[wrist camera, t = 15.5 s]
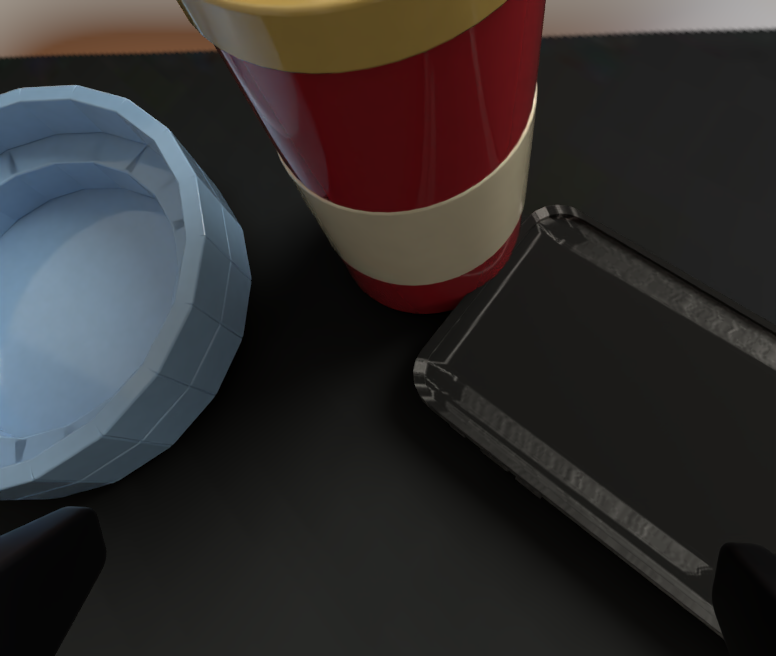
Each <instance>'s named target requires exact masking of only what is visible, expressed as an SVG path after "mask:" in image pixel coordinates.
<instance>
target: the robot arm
mask: <svg viewBox="0 0 776 656" xmlns="http://www.w3.org/2000/svg"><path fill="white" fill-rule="evenodd" d="M105 560H106V547H105V543H104V539H103V536H102V532H101V528H100V524H99V521H98V517H97V514H96V513H95V511H94V510H93V509H91V508H88V507H73V506H69V507H63V508H61V509H59V510H56V511H54V512H52V513H50V514H48V515H45V516H43V517H41V518H39V519H37V520H34V521H32V522H30V523H28V524H26V525H23V526H21V527H19V528H17V529H15V530H12V531H10V532H8V533H6V534H4V535H1V536H0V656H55V654H56V652H57V651H58V649H59V647H60V645H61V643H62V642H63V640H64V638H65V636H66V634H67V633H68V631H69V629H70V627H71V625H72V623H73V622H74V620H75V618H76V616H77V614H78V612H79V611H80V609H81V607H82V605H83V603H84V601H85V600H86V598H87V596H88V594H89V592H90V591H91V589H92V587H93V585H94V583H95V581H96V580H97V578H98V576H99V574H100V572H101V570H102V568H103V566H104V563H105ZM712 604H713V608H714V612H715V615H716V618H717V621H718V624H719V627H720V629H721V632H722V635H723V638H724V641H725V644H726V647H727V649H728V652H729V655H730V656H776V555H775V554H774V553H772V552H771V551H769V550H768V549H766V548H764V547H762V546H761V545H758V544H751V543H732V542H728V543H725V544H723V545H722V547H721V548H720V551H719V555H718V561H717V566H716V572H715V577H714V583H713V588H712Z"/></svg>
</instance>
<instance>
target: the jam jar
mask: <svg viewBox="0 0 776 656" xmlns="http://www.w3.org/2000/svg"><path fill="white" fill-rule="evenodd" d="M177 2H178V3H179V5H180V7H181V8H182V10H183V12H184V13H185V15H186V17H187V18H188V20H189V21H190V23H191V24H192V25H193V26H194V27H195V28H196V29H197V30H198V31H199V32H200V33H201V35H203V36H204V37H205V38H206V39H208V40H209V41H210V42H212V43H213V44H214V46H215V47H216V49H217V51H218V52H219V54H220V56H221V58H222V59H223V61H224V63H225V64H226V66H227V68H228V69H229V71H230V73H231V74H232V76H233V78H234V79H235V81H236V83H237V84H238V86H239V88H240V89H241V91H242V93H243V95H244V96H245V98H246V100H247V101H248V103H249V105H250V106H251V108H252V110H253V111H254V113H255V115H256V116H257V118H258V120H259V121H260V123H261V125H262V126H263V128H264V130H265V131H266V133H267V135H268V137H269V138H270V140H271V142H272V143H273V145H274V147H275V148H276V151H277V153H278V156H279V158H280V160H281V162H282V164H283V166H284V167H285V169H286V171H287V172H288V174H289V176H290V177H291V179H292V181H293V182H294V184H295V186H296V187H297V189H298V191H299V192H300V194H301V196H302V197H303V199H304V201H305V202H306V204H307V206H308V207H309V209H310V211H311V212H312V214H313V216H314V217H315V219H316V221H317V222H318V224H319V226H320V227H321V229H322V231H323V232H324V234H325V236H326V237H327V239H328V240H329V242H330V244H331V245H332V247H333V249H334V250H335V251H336V252H337V253H338V254H339V256H340V258H341V259H342V261H343V263H344V264H345V266H346V268H347V269H348V271H349V273H350V274H351V276H352V277H353V279H354V281H355V282H356V283H357V284H358V286H359V287H360V288H361V289H362V290H363V291H364V292H365V293H366V294H368V295H369V296H370V297H371V298H373V299H374V300H376V301H378V302H379V303H381V304H383V305H385V306H387V307H390V308H393V309H396V310H399V311H403V312H408V313H417V314H431V313H440V312H445V311H450V310H453V309H455V308H456V306H457V305H458V304H459V303H460V301H461V300H462V299H463V298H464V296H465V295H466V294H467V293H470V292H472V291H473V290H475V289H477V288H478V287H480V286H482V285H483V284H484V283H486V282H487V281H488V280H489V279H490V280H492V279H493V278H494V277H495V276H496V275H497V273H498V272H499V271H500V270H501V269H502V268H503V266H504V265H505V264H506V262H507V261H508V259H509V258H510V256H511V254H512V253H511V252H512V250H513V249H514V246H515V244H516V241H517V238H518V235H519V230H520V226H521V217H522V210H523V206H524V202H525V197H526V189H527V180H528V172H529V163H530V155H531V146H532V138H533V129H534V121H535V112H536V104H537V74H538V65H539V56H540V48H541V39H542V29H543V21H544V11H545V3H546V0H177Z"/></svg>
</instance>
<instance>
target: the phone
mask: <svg viewBox="0 0 776 656" xmlns="http://www.w3.org/2000/svg"><path fill="white" fill-rule="evenodd" d="M511 253H512V254H511V256H510V258H509V259H508V261H507V262H506V264H505V265H504V266H503V268H502V269H501V270H500V271H499V272H498V273H497V275H496V276H495V277H494V278H493V279H492V280H490V279H489V280H488V281H487V282H486V283H484V284H483V285H482V286H480V287H478V288H477V289H475V290H473V291H472V292H470V293H467V294H466V295H465V296H464V298H463V299H462V300H461V301H460V303H459V304H458V305H457V306H456V308H455V309H454V310H453V311H452V313H451V314H450V315H449V316H448V318H447V319H446V320H445V321H444V323H443V324H442V325H441V326H440V328H439V329H438V330H437V331H436V333H435V334H434V335H433V336H432V338H431V339H430V340H429V341H428V343H427V344H426V345H425V346H424V348H423V349H422V350H421V352H420V353H419V355H418V357H417V359H416V360H415V365H414V370H413V376H414V384H415V386H416V388H417V390H418V393H419V395H420V397H421V399H422V401H423V402H424V403H425V404H426V405H427V406H428V407H429V408H430V409H431V410H432V411H433V412H435V413H436V414H437V415H439V416H440V417H441V418H442V419H444V420H445V421H446V422H447V423H449V424H450V427H451V428H453V429H454V430H455V431H457V432H458V433H459V434H460V435H462V436H463V437H464V438H465V437H467V438H468V439H469V440H470V441H472V442H473V443H474V444H475V445H477V446H478V447H479V448H481V449H480V451H481V452H482V453H484V454H485V455H486V456H487V457H489V458H490V459H491V460H493V461H494V462H495V463H496V464H498V465H499V466H500V467H501V468H503V469H504V470H505V471H508V470H509V471H510V472H511V473H512V474H514V475H515V476H516V478H515V479H516V480H517V481H518V482H519V483H521V484H522V485H523V486H525V487H526V488H527V489H528V490H530V491H531V492H532V493H533V494H535V495H536V496H537V497H539V498H540V499H541V497H543V498H544V499H546V500H547V501H548V502H549V503H551V504H552V505H553V506H554V507H556V508H557V509H558V510H560V511H561V512H562V513H563V514H565V515H566V516H567V517H569V518H570V519H571V520H572V521H574V522H575V523H576V524H577V525H579V526H580V527H581V528H583V529H584V530H585V531H586V532H588V533H589V534H590V535H591V536H593V537H594V538H595V539H597V540H598V541H599V542H600V543H602V544H603V545H604V546H605V547H607V548H608V549H609V550H611V551H612V552H613V553H614V554H616V555H617V556H618V557H619V558H621V559H622V560H623V561H625V562H626V563H627V564H628V565H630V566H631V567H632V568H634V569H635V570H636V571H637V572H639V573H640V574H641V575H642V576H644V577H645V578H646V579H648V580H649V581H650V582H651V583H653V584H654V585H655V586H656V587H658V588H659V589H660V590H662V591H663V592H664V593H665V594H667V595H668V596H669V597H670V598H672V599H673V600H674V601H676V602H677V603H678V604H679V605H681V606H682V607H683V608H684V609H686V610H687V611H688V612H690V613H691V614H692V615H693V616H695V617H696V618H697V619H698V620H700V621H701V622H702V623H704V624H705V625H706V626H707V627H709V628H710V629H711V630H713V631H714V632H715V633H716V634H718V635H719V636H720V637H721V638H723V635H722V632H721V629H720V627H719V624H718V621H717V618H716V615H715V612H714V608H713V604H712V588H713V583H714V577H715V572H716V566H717V561H718V555H719V551H720V548H721V547H722V545H723V544H725V543H728V542H732V543H751V544H758V545H761V546H762V547H764V548H766V549H768V550H769V551H771V552H772V553H774V554H775V555H776V325H774V324H773V323H771V322H769V321H767V320H766V319H764V318H762V317H761V316H759V315H757V314H755V313H754V312H752V311H750V310H749V309H747V308H745V307H743V306H742V305H740V304H738V303H737V302H735V301H733V300H732V299H730V298H728V297H726V296H725V295H723V294H721V293H720V292H718V291H716V290H714V289H713V288H711V287H709V286H708V285H706V284H704V283H703V282H701V281H699V280H697V279H696V278H694V277H692V276H691V275H689V274H687V273H685V272H684V271H682V270H680V269H679V268H677V267H675V266H673V265H672V264H670V263H668V262H667V261H665V260H663V259H662V258H660V257H658V256H656V255H655V254H653V253H651V252H650V251H648V250H646V249H644V248H643V247H641V246H639V245H638V244H636V243H634V242H632V241H631V240H629V239H627V238H626V237H624V236H622V235H621V234H619V233H617V232H615V231H614V230H612V229H610V228H609V227H607V226H605V225H603V224H602V223H600V222H598V221H597V220H595V219H593V218H592V217H590V216H588V215H586V214H585V213H583V212H581V211H580V210H577V209H575V208H572V207H570V206H564V205H552V206H545V207H543V208H541V209H539V210H537V211H535V212H534V213H533V214H531V215H530V216H529V217H528V218H527V219H526V220H525V222H524V223H523V224H522V225H521V227H520V230H519V235H518V238H517V241H516V244H515V246H514V249H513V250H512V252H511ZM723 639H724V638H723Z"/></svg>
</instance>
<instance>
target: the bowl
mask: <svg viewBox="0 0 776 656" xmlns="http://www.w3.org/2000/svg"><path fill="white" fill-rule="evenodd" d="M250 287H251V274H250V268H249V263H248V257H247V252H246V246H245V241H244V235H243V230H242V229H241V226H240V224H239V222H238V221H237V219H236V217H235V216H234V214H233V212H232V211H231V209H230V207H229V206H228V204H227V202H226V201H225V199H224V198H223V196H222V194H221V193H220V191H219V189H218V188H217V187H216V186H215V184H214V183H213V182H212V181H211V180H210V178H209V177H208V176H207V175H206V174H205V172H204V171H203V170H202V169H201V167H200V166H199V165H198V164H197V163H196V161H195V160H194V159H193V158H192V156H191V155H190V154H189V153H188V152H187V150H186V149H185V148H184V147H183V146H182V144H181V143H180V142H179V141H178V140H177V138H176V137H175V136H174V135H173V133H172V132H171V131H170V130H169V129H168V128H167V127H166V126H164V125H163V124H162V123H160V122H159V121H157V120H156V119H155V118H153V117H152V116H151V115H149V114H148V113H147V112H145V111H144V110H143V109H141V108H140V107H138V106H137V105H136V104H134V103H133V102H132V101H130V100H129V99H126V98H123V97H120V96H116V95H112V94H108V93H105V92H101V91H97V90H94V89H90V88H86V87H82V86H79V85H77V86H76V85H65V86H47V87H28V88H22V89H21V88H19V89H16V90H13V91H10V92H7V93H4V94H0V500H34V499H57V498H61V497H65V496H69V495H72V494H76V493H80V492H83V491H87V490H90V489H94V488H98V487H101V486H105V485H108V484H112V483H114V482H116V481H119V480H120V479H122V478H124V477H125V476H127V475H128V474H130V473H131V472H133V471H134V470H136V469H137V468H139V467H141V466H142V465H144V464H145V463H147V462H148V461H150V460H151V459H153V458H154V457H156V456H157V455H159V454H161V453H162V452H164V451H165V450H167V449H168V448H170V447H171V445H173V444H174V443H175V442H176V441H177V440H178V439H179V438H180V436H181V435H182V434H183V433H184V432H185V431H186V430H187V428H188V427H189V426H190V425H191V424H192V423H193V421H194V420H195V419H196V418H197V417H198V416H199V415H200V413H201V412H202V411H203V410H204V409H205V408H206V407H207V405H208V404H209V403H210V402H211V401H212V400H213V399H214V397H215V395H216V394H217V392H218V390H219V388H220V386H221V384H222V382H223V379H224V377H225V375H226V373H227V371H228V369H229V367H230V365H231V362H232V360H233V358H234V356H235V354H236V352H237V350H238V348H239V345H240V343H241V341H242V337H243V335H244V328H245V321H246V314H247V308H248V301H249V294H250Z"/></svg>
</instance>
